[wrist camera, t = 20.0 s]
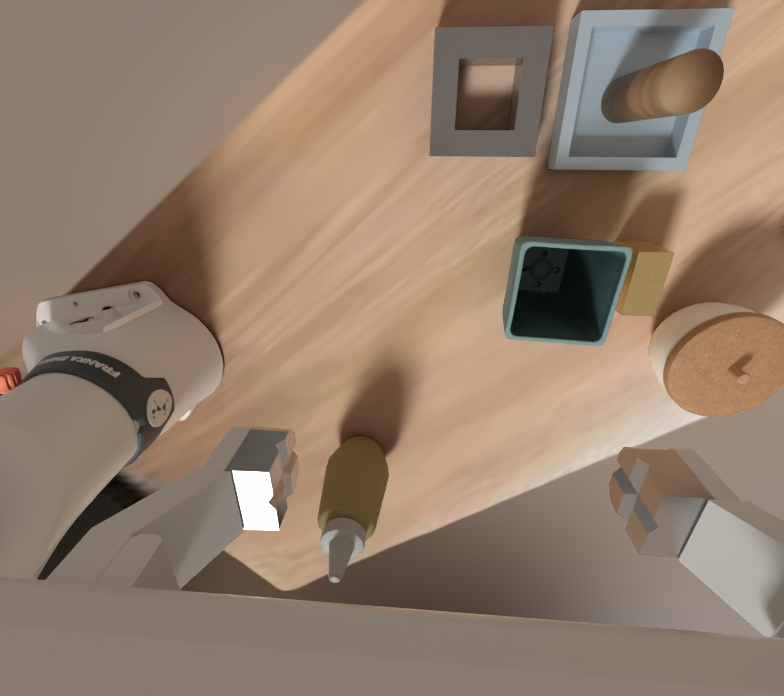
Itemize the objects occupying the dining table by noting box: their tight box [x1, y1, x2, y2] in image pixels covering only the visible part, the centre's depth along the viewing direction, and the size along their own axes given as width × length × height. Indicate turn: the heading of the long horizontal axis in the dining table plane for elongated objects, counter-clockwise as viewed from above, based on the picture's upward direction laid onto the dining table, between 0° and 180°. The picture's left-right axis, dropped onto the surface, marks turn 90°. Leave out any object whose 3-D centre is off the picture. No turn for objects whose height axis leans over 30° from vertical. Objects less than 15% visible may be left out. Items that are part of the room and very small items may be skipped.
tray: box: [547, 8, 735, 171], centre depth 33 cm, size 11×11×2 cm
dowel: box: [601, 48, 724, 123], centre depth 30 cm, size 4×4×10 cm
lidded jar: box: [648, 302, 784, 416], centre depth 39 cm, size 11×11×9 cm
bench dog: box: [614, 241, 674, 316], centre depth 39 cm, size 3×6×5 cm, turn 0°
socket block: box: [430, 26, 554, 157], centre depth 34 cm, size 9×9×3 cm
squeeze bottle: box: [317, 436, 389, 583], centre depth 46 cm, size 8×8×18 cm
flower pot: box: [503, 236, 633, 346], centre depth 37 cm, size 9×9×9 cm
